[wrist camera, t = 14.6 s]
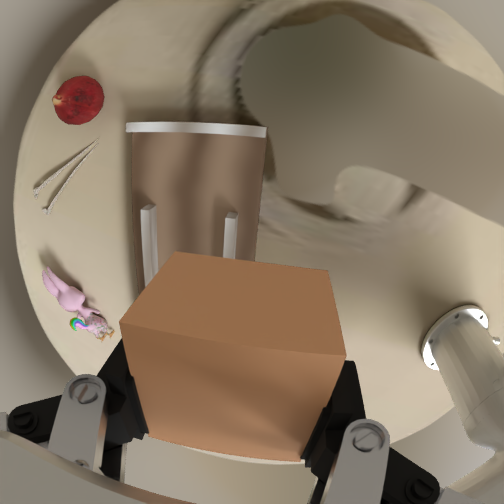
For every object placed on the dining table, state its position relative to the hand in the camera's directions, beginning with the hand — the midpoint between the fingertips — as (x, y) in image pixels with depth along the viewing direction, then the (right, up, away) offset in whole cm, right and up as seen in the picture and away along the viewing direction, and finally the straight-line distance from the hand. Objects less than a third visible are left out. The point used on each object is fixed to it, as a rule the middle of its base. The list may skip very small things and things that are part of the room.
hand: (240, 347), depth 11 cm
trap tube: (-6, +2, +27) cm, 28 cm away
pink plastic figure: (-26, -4, +32) cm, 42 cm away
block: (0, +1, 0) cm, 1 cm away
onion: (-18, +22, +20) cm, 35 cm away
